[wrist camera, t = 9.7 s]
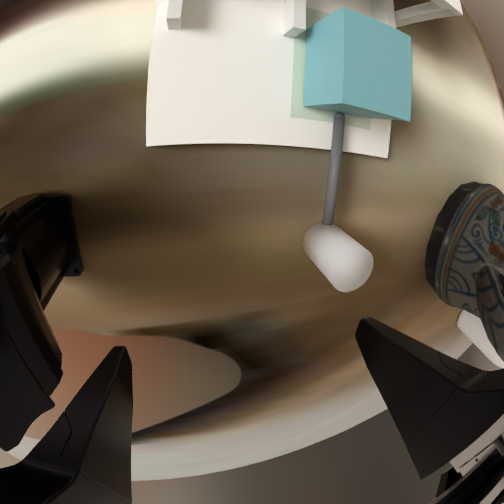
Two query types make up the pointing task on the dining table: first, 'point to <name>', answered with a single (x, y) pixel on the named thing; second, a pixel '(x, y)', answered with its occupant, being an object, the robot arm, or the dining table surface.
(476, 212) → the beer stein
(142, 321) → the dining table surface
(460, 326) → the milk bottle
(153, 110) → the shelf
